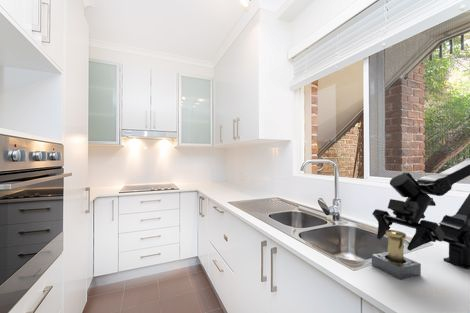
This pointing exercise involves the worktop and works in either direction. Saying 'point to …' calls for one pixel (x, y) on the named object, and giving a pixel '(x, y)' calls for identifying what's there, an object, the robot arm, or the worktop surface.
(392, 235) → the brass flanged cylinder
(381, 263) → the jig
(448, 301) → the worktop surface
